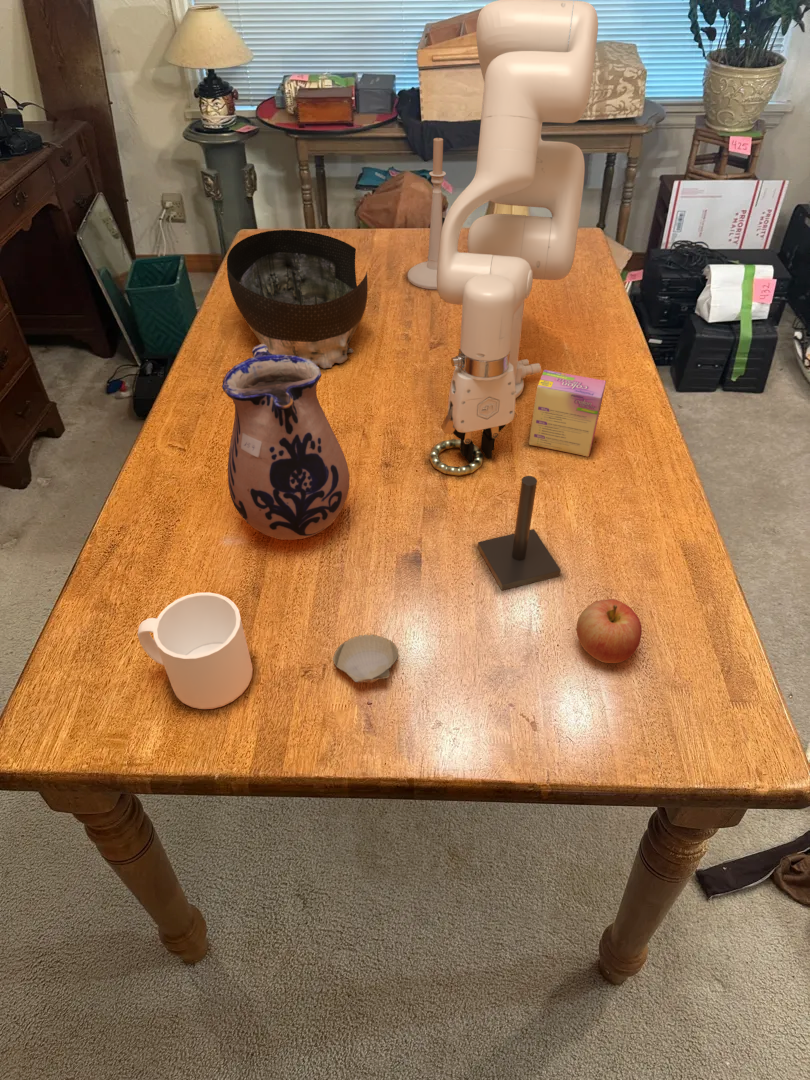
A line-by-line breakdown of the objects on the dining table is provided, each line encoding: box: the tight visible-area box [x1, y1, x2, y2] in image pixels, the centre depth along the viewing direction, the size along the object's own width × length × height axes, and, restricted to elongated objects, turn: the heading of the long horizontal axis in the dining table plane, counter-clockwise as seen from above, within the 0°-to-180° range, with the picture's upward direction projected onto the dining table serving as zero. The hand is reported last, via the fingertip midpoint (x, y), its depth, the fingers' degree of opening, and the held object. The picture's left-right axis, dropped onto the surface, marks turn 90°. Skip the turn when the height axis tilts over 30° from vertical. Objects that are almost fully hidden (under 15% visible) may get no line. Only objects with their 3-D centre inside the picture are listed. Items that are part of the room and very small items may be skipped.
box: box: [528, 369, 607, 458], centre depth 127 cm, size 10×6×12 cm, turn 71°
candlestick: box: [407, 137, 447, 290], centre depth 166 cm, size 13×13×30 cm
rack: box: [477, 475, 562, 591], centre depth 105 cm, size 9×9×15 cm
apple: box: [576, 598, 642, 664], centre depth 96 cm, size 8×8×8 cm
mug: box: [136, 591, 254, 710], centre depth 92 cm, size 13×10×10 cm
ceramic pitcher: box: [221, 343, 350, 541], centre depth 109 cm, size 18×21×25 cm
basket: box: [226, 229, 369, 369], centre depth 152 cm, size 28×35×16 cm
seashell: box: [332, 634, 399, 684], centre depth 96 cm, size 8×3×8 cm
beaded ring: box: [428, 438, 484, 477], centre depth 127 cm, size 9×9×1 cm
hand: (476, 455), depth 128 cm, fingers closed
